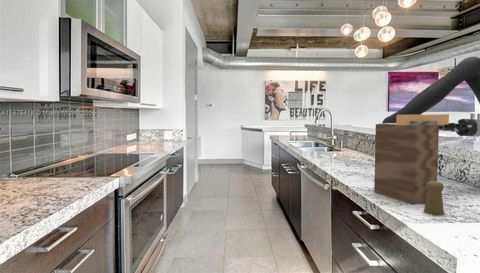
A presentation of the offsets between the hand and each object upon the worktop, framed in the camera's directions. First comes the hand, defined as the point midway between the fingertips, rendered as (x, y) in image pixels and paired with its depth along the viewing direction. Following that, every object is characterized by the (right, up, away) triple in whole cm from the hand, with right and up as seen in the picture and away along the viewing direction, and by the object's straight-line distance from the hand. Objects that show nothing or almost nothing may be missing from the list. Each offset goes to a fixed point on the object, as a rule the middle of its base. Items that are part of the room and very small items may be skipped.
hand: (436, 126), depth 133 cm
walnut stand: (-16, -29, -4) cm, 34 cm away
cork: (-17, -31, -25) cm, 43 cm away
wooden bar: (-12, 0, -10) cm, 16 cm away
